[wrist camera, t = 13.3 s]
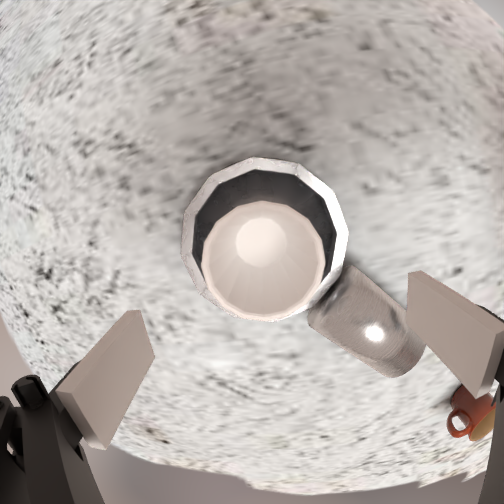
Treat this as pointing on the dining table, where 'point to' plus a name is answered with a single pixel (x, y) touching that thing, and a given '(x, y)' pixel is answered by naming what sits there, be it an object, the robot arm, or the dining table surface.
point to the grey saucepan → (334, 276)
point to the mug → (472, 414)
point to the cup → (263, 261)
